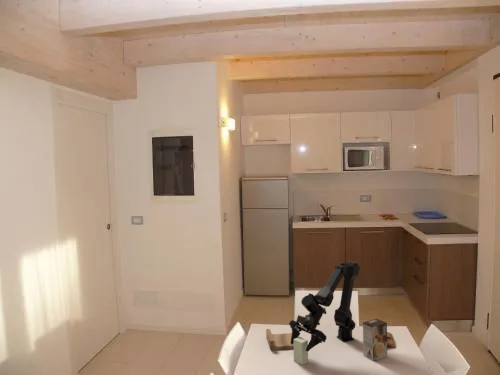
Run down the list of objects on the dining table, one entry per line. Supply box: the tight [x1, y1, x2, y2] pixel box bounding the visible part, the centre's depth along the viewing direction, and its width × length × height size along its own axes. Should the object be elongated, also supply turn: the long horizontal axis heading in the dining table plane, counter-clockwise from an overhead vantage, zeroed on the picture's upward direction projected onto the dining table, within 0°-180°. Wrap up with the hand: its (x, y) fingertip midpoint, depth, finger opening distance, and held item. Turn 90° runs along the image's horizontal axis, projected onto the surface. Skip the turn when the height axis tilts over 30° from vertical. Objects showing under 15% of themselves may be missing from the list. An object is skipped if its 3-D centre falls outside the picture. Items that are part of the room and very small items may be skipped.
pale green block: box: [293, 336, 309, 366], centre depth 176 cm, size 4×5×10 cm
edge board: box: [265, 328, 294, 351], centre depth 196 cm, size 16×14×4 cm
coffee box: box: [362, 318, 388, 362], centre depth 179 cm, size 9×6×16 cm
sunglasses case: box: [387, 331, 397, 349], centre depth 196 cm, size 18×7×7 cm, turn 169°
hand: (298, 347), depth 175 cm, fingers open, 9 cm apart
